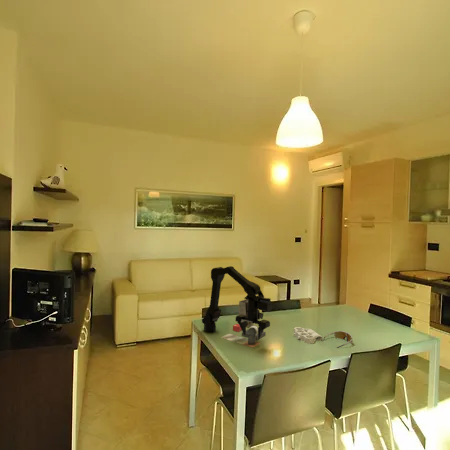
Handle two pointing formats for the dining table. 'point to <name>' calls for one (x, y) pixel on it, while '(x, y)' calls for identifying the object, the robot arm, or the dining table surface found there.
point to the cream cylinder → (255, 328)
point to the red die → (236, 327)
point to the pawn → (252, 336)
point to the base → (256, 335)
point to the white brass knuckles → (307, 335)
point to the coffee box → (244, 310)
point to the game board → (239, 340)
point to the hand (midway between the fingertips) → (251, 336)
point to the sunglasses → (342, 336)
